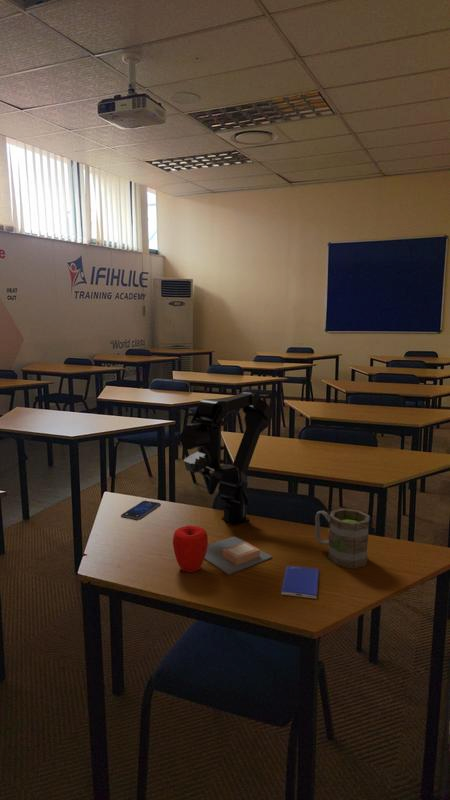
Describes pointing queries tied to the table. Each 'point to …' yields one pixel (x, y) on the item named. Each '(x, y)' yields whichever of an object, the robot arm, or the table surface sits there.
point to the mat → (217, 559)
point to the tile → (241, 553)
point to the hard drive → (300, 582)
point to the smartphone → (140, 510)
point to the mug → (345, 537)
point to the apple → (190, 547)
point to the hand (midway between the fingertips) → (211, 494)
